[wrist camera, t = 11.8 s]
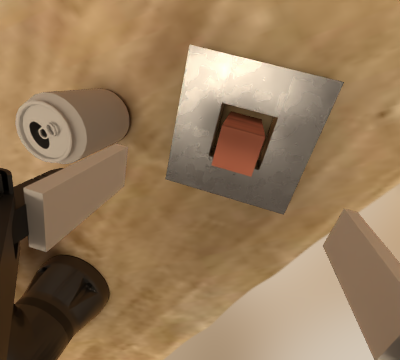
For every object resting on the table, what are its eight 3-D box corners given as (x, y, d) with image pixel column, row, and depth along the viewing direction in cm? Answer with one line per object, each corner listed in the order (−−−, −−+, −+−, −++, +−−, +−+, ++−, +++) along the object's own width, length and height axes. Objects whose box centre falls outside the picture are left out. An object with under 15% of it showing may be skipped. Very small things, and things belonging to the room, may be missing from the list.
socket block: (280, 200, 34) (283, 214, 30) (174, 168, 35) (165, 179, 32) (331, 81, 27) (343, 82, 23) (197, 48, 28) (189, 44, 25)
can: (75, 99, 34) (-7, 109, 23) (117, 79, 32) (47, 80, 21) (100, 148, 36) (35, 177, 26) (140, 132, 34) (89, 157, 23)
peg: (251, 148, 32) (251, 176, 23) (222, 140, 32) (211, 165, 23) (261, 119, 30) (265, 137, 21) (231, 111, 30) (222, 125, 21)
